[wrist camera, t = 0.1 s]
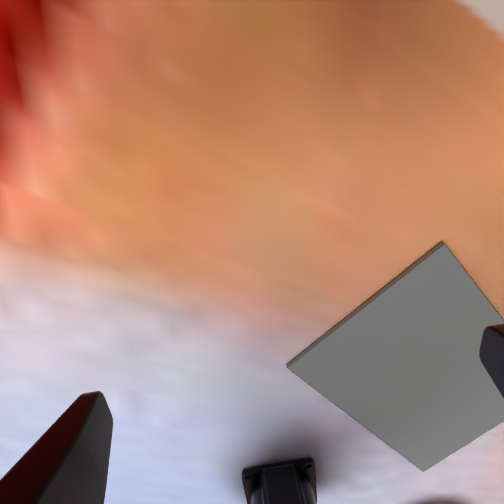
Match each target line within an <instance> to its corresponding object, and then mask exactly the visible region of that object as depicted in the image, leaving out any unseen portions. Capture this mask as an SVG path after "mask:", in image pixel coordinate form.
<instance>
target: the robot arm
mask: <svg viewBox="0 0 504 504" xmlns="http://www.w3.org/2000/svg"><path fill="white" fill-rule="evenodd" d="M479 357H480V360H481V363H482V364H483V366H484V368H485V369H486V371H487V372H488V374H489V376H490V377H491V379H492V381H493V382H494V384H495V385H496V387H497V389H498V390H499V392H500V393H501V395H502V397H503V398H504V324H496V325H490V326H487V327H486V328H485V329H484V331H483V335H482V340H481V345H480V349H479ZM112 430H113V418H112V414H111V412H110V410H109V407H108V405H107V402H106V400H105V397H104V395H103V393H102V392H100V391H95V392H89V393H84V394H82V395H80V396H79V397H78V398H77V399H76V400H75V401H74V402H73V403H72V404H71V406H70V407H69V408H68V409H67V410H66V411H65V412H64V413H63V414H62V415H61V416H60V417H59V418H58V419H57V420H56V421H55V423H54V424H53V425H52V426H51V427H50V428H49V429H48V430H47V431H46V432H45V433H44V434H43V435H42V436H41V437H40V438H39V439H38V441H37V442H36V443H35V444H34V445H33V446H32V447H31V448H30V449H29V450H28V451H27V452H26V453H25V454H24V455H23V456H22V458H21V459H20V460H19V461H18V462H17V463H16V464H15V465H14V466H13V467H12V468H11V469H10V470H9V471H8V472H7V473H6V474H5V476H4V477H3V478H2V479H1V480H0V504H104V498H105V491H106V484H107V475H108V466H109V457H110V448H111V439H112ZM242 480H243V485H244V490H245V495H246V500H247V504H317V494H316V477H315V464H314V461H313V459H311V458H307V459H301V460H296V461H291V462H285V463H280V464H274V465H269V466H263V467H258V468H253V469H247V470H244V471H243V472H242Z"/></svg>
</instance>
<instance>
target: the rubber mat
mask: <svg viewBox="0 0 504 504" xmlns="http://www.w3.org/2000/svg"><path fill="white" fill-rule="evenodd" d="M496 324H504V320H503V319H502V318H501V317H500V315H499V314H498V313H497V311H496V310H495V309H494V308H493V306H492V305H491V304H490V302H489V301H488V300H487V298H486V297H485V296H484V295H483V293H482V292H481V291H480V289H479V288H478V287H477V286H476V284H475V283H474V282H473V280H472V279H471V278H470V277H469V275H468V274H467V273H466V271H465V270H464V269H463V267H462V266H461V265H460V264H459V262H458V261H457V260H456V258H455V257H454V256H453V255H452V253H451V252H450V251H449V249H448V248H447V247H446V246H445V244H443V243H442V242H441V243H439V244H438V245H437V246H436V247H434V248H433V249H432V250H431V251H429V252H428V253H427V254H425V255H424V256H423V257H422V258H420V259H419V260H418V261H417V262H415V263H414V264H413V265H412V266H410V267H409V268H408V269H407V270H405V271H404V272H403V273H401V274H400V275H399V276H398V277H396V278H395V279H394V280H393V281H391V282H390V283H389V284H388V285H386V286H385V287H384V288H383V289H381V290H380V291H379V292H377V293H376V294H375V295H374V296H372V297H371V298H370V299H369V300H367V301H366V302H365V303H364V304H362V305H361V306H360V307H359V308H357V309H356V310H355V311H353V312H352V313H351V314H350V315H348V316H347V317H346V318H345V319H343V320H342V321H341V322H340V323H338V324H337V325H336V326H335V327H333V328H332V329H331V330H329V331H328V332H327V333H326V334H324V335H323V336H322V337H321V338H319V339H318V340H317V341H316V342H314V343H313V344H312V345H311V346H309V347H308V348H307V349H305V350H304V351H303V352H302V353H300V354H299V355H298V356H297V357H295V358H294V359H293V360H292V361H290V362H289V363H288V364H287V368H288V369H289V370H290V371H292V372H293V373H294V374H296V375H297V376H298V377H300V378H301V379H302V380H304V381H305V382H306V383H307V384H309V385H310V386H311V387H313V388H314V389H315V390H317V391H318V392H319V393H321V394H322V395H323V396H324V397H326V398H327V399H328V400H330V401H331V402H332V403H334V404H335V405H336V406H338V407H339V408H340V409H341V410H343V411H344V412H345V413H347V414H348V415H349V416H351V417H352V418H353V419H355V420H356V421H357V422H359V423H360V424H361V425H362V426H364V427H365V428H366V429H368V430H369V431H370V432H372V433H373V434H374V435H376V436H377V437H378V438H379V439H381V440H382V441H383V442H385V443H386V444H387V445H389V446H390V447H391V448H393V449H394V450H395V451H396V452H398V453H399V454H400V455H402V456H403V457H404V458H406V459H407V460H408V461H410V462H411V463H412V464H413V465H415V466H416V467H417V468H419V469H420V470H421V471H423V472H424V471H426V470H427V469H429V468H430V467H432V466H433V465H435V464H437V463H438V462H440V461H441V460H443V459H445V458H446V457H448V456H449V455H451V454H452V453H454V452H456V451H457V450H459V449H460V448H462V447H464V446H465V445H467V444H468V443H470V442H472V441H473V440H475V439H476V438H478V437H479V436H481V435H483V434H484V433H486V432H487V431H489V430H491V429H492V428H494V427H495V426H497V425H499V424H500V423H502V422H503V421H504V398H503V397H502V395H501V393H500V392H499V390H498V389H497V387H496V385H495V384H494V382H493V381H492V379H491V377H490V376H489V374H488V372H487V371H486V369H485V368H484V366H483V364H482V363H481V360H480V357H479V349H480V345H481V340H482V335H483V331H484V329H485V328H486V327H487V326H490V325H496Z"/></svg>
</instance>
